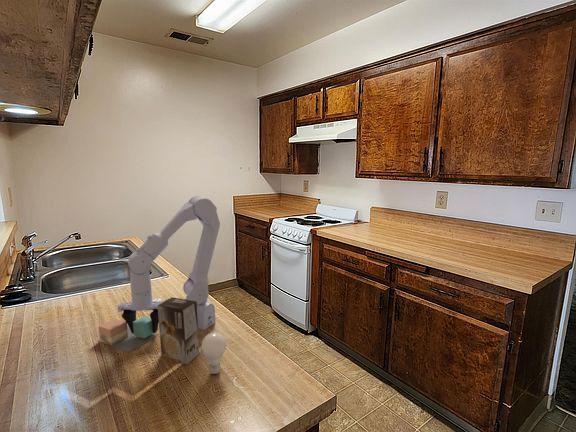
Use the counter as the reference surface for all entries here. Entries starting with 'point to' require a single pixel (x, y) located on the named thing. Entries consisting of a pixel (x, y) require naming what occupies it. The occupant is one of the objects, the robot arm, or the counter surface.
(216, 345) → the lightbulb
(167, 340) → the coffee box
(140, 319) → the teal block
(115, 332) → the terracotta slab
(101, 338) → the maple slab
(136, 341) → the slate board
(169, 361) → the counter surface
